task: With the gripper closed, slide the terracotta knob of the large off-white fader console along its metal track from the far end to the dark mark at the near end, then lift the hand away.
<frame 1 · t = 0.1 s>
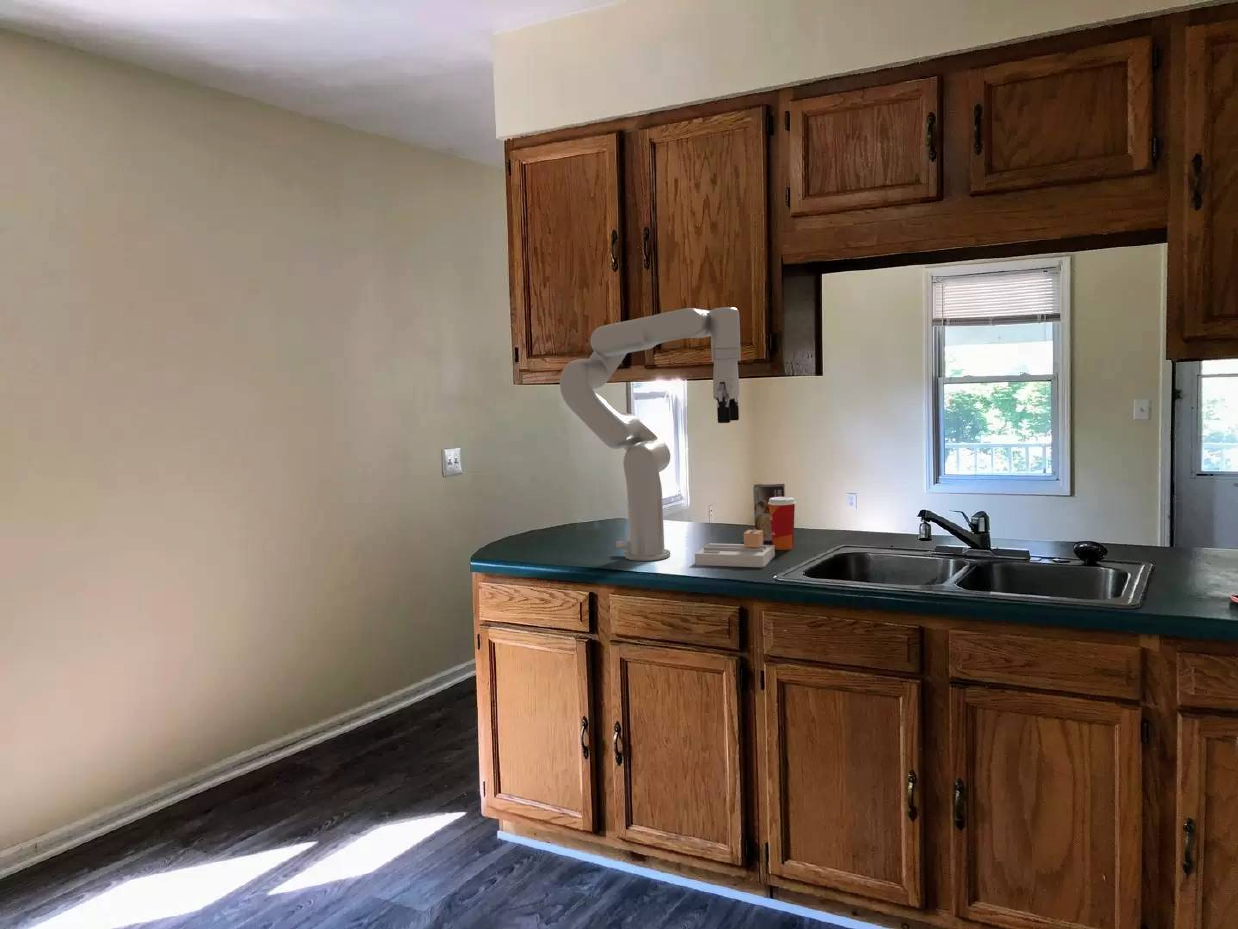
hand: (728, 421, 242), 37 cm above the worktop, tool pointing down, fingers open, 9 cm apart
paper cup: (782, 548, 258), on the worktop
fader knob: (753, 540, 242), point 6 cm above the worktop, slide at 10.0 cm
coffee box: (771, 539, 272), on the worktop
fader console: (735, 560, 245), on the worktop
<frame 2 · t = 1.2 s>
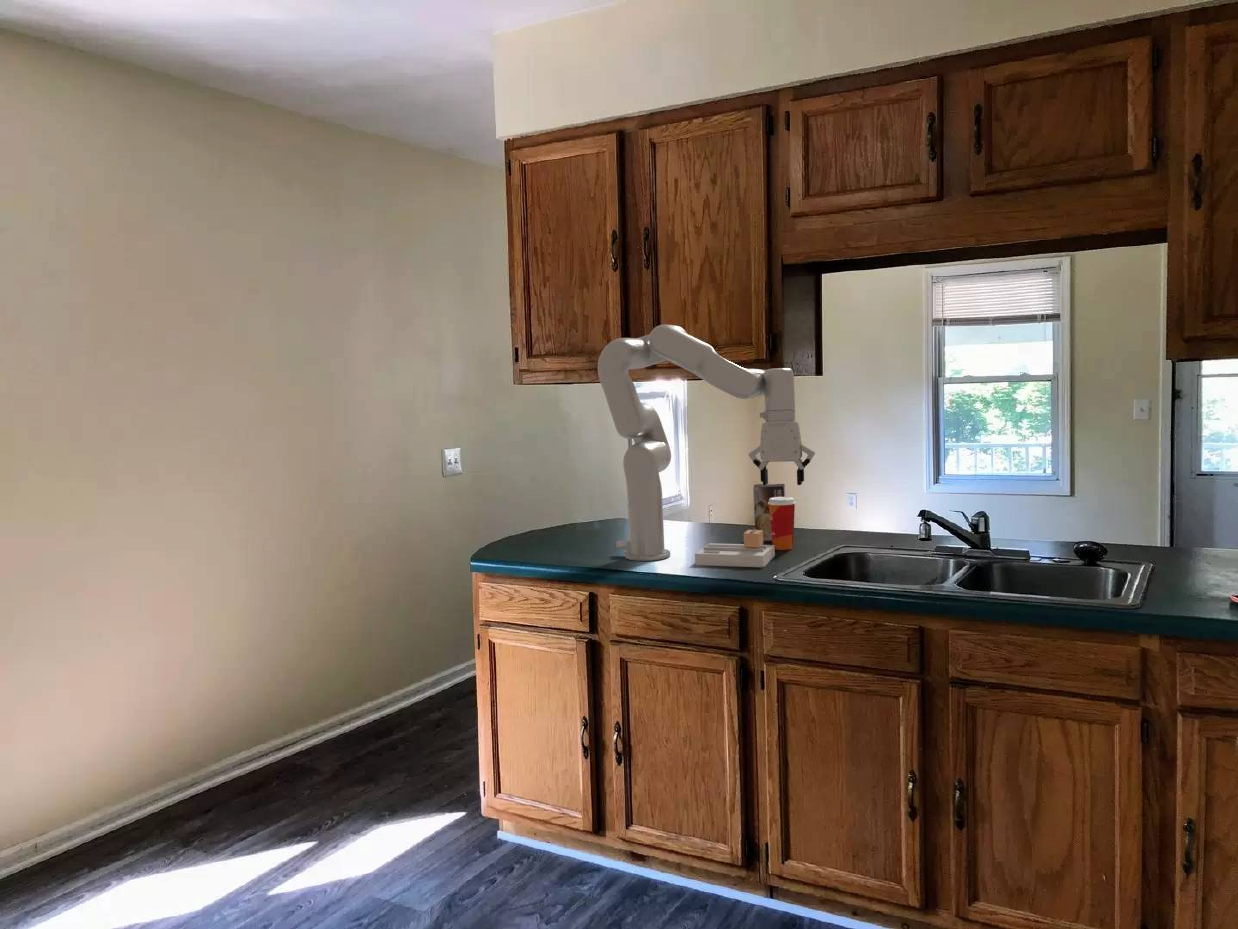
hand: (782, 484, 238), 20 cm above the worktop, tool pointing down, fingers open, 8 cm apart
nothing on the worktop moved.
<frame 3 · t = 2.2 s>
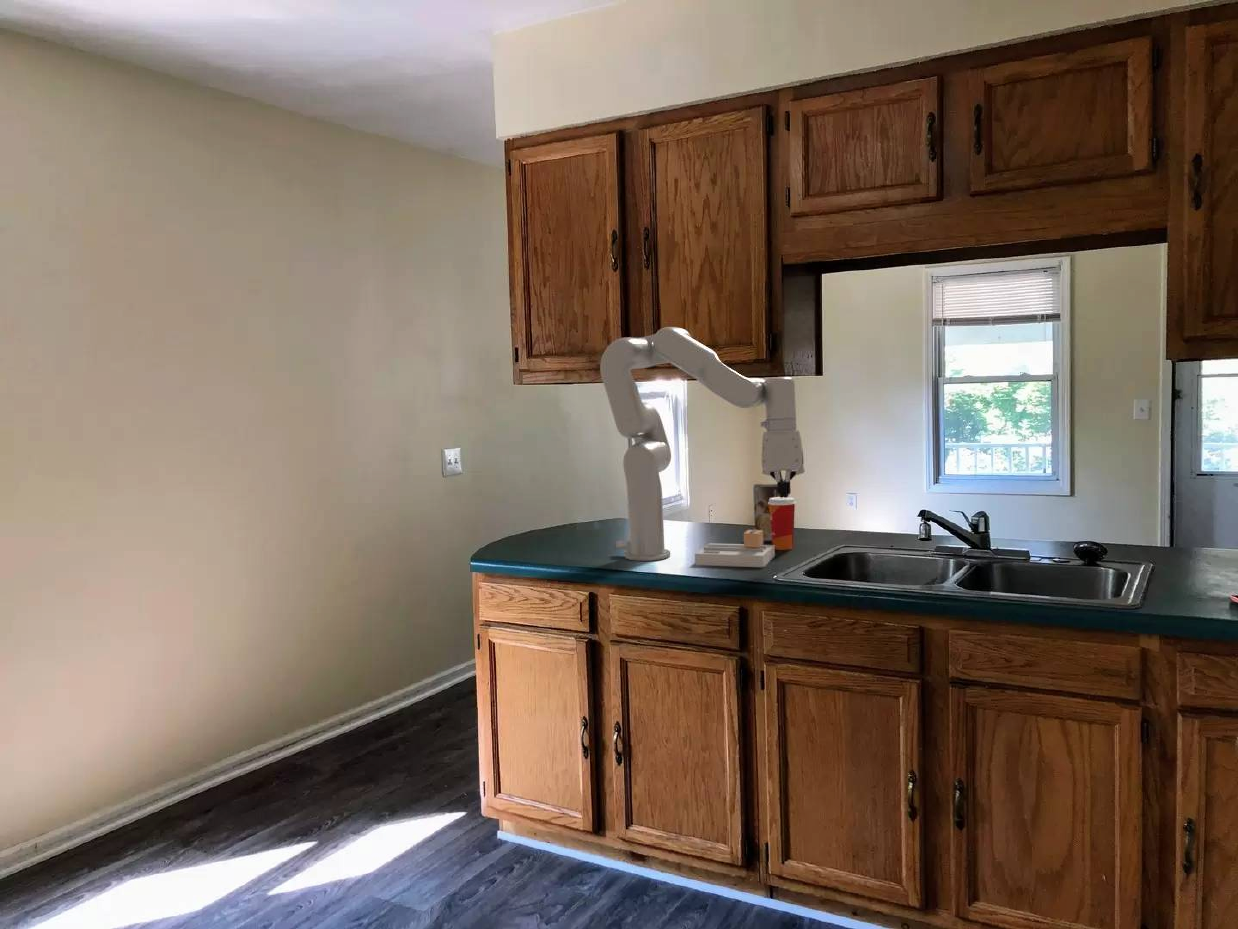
hand: (784, 496, 238), 17 cm above the worktop, tool pointing down, fingers closed
nothing on the worktop moved.
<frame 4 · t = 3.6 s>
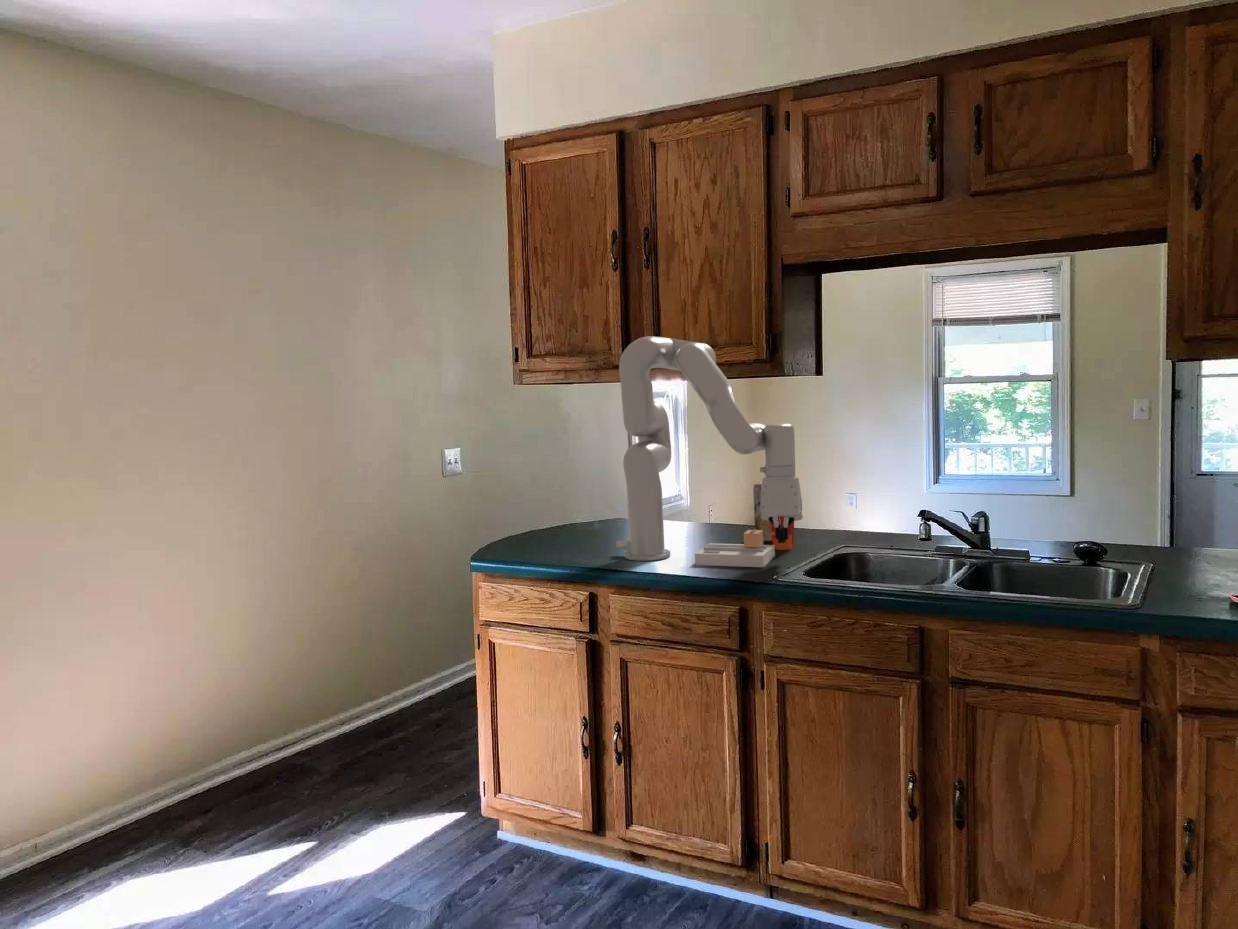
hand: (782, 542, 240), 5 cm above the worktop, tool pointing down, fingers closed
nothing on the worktop moved.
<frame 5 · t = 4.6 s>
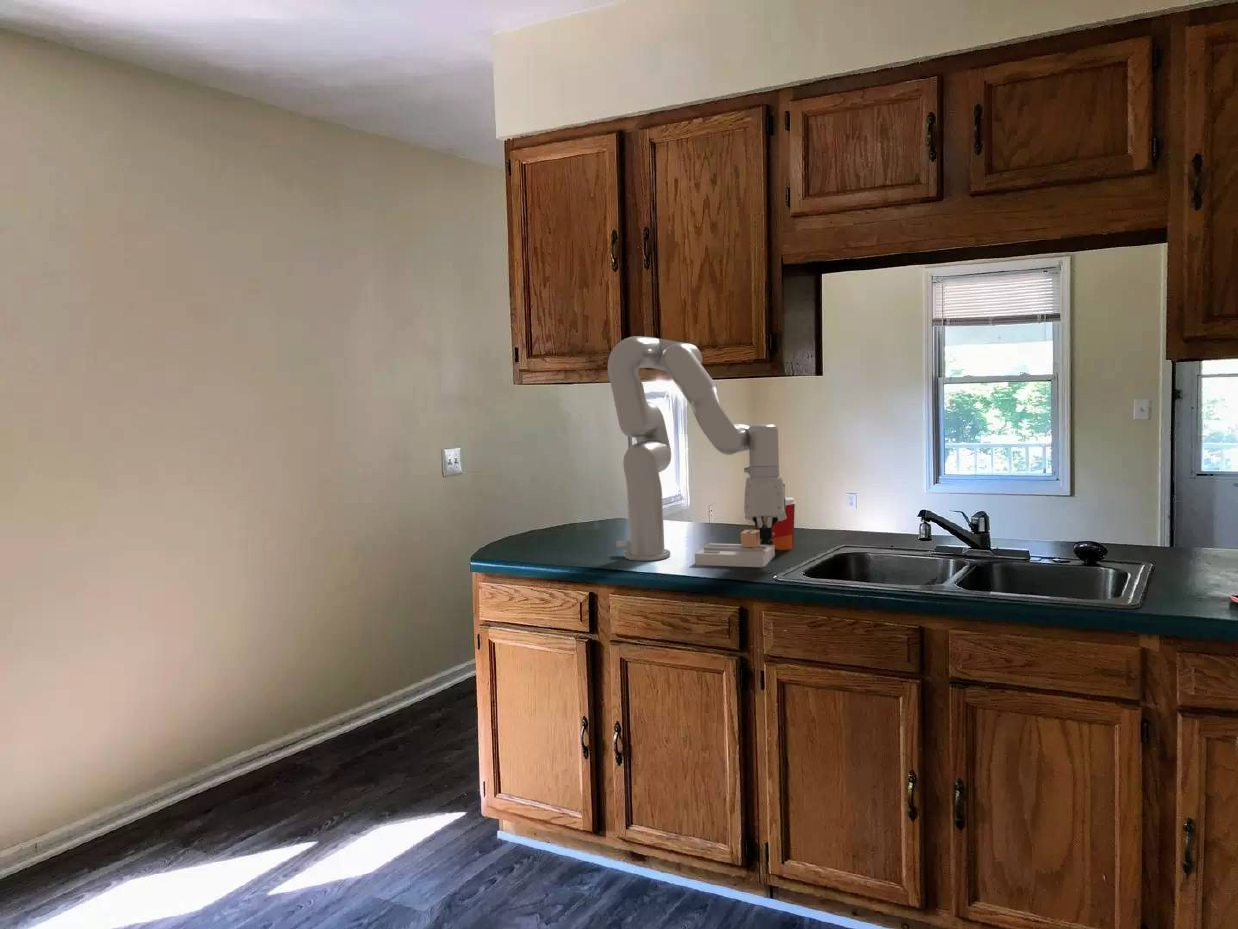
hand: (766, 541, 241), 5 cm above the worktop, tool pointing down, fingers closed
fader knob: (750, 539, 243), point 6 cm above the worktop, slide at 9.2 cm, touching gripper
everything else where it was.
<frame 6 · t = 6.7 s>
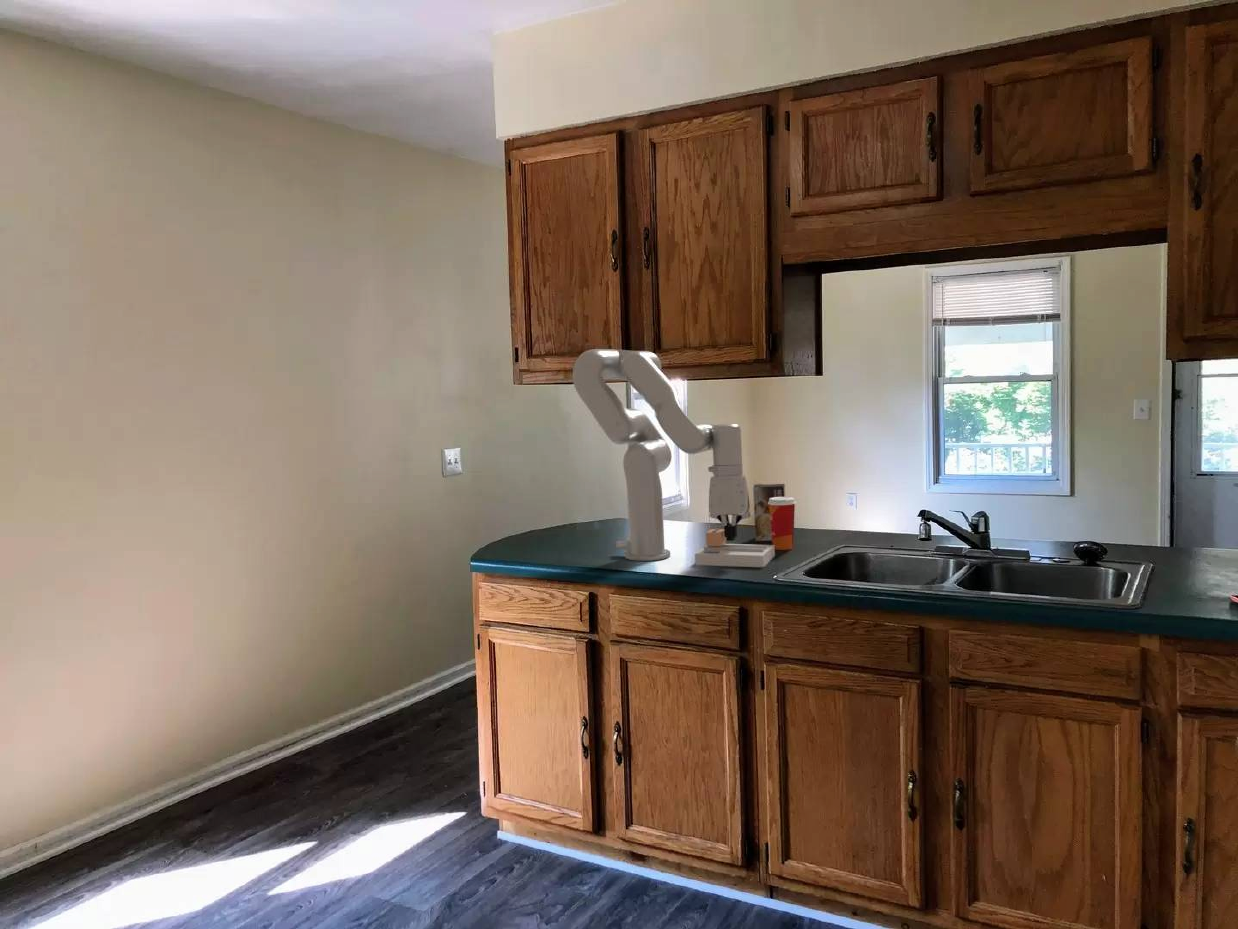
hand: (730, 539, 245), 5 cm above the worktop, tool pointing down, fingers closed
fader knob: (716, 539, 246), point 6 cm above the worktop, slide at -0.1 cm, touching gripper
everything else where it was.
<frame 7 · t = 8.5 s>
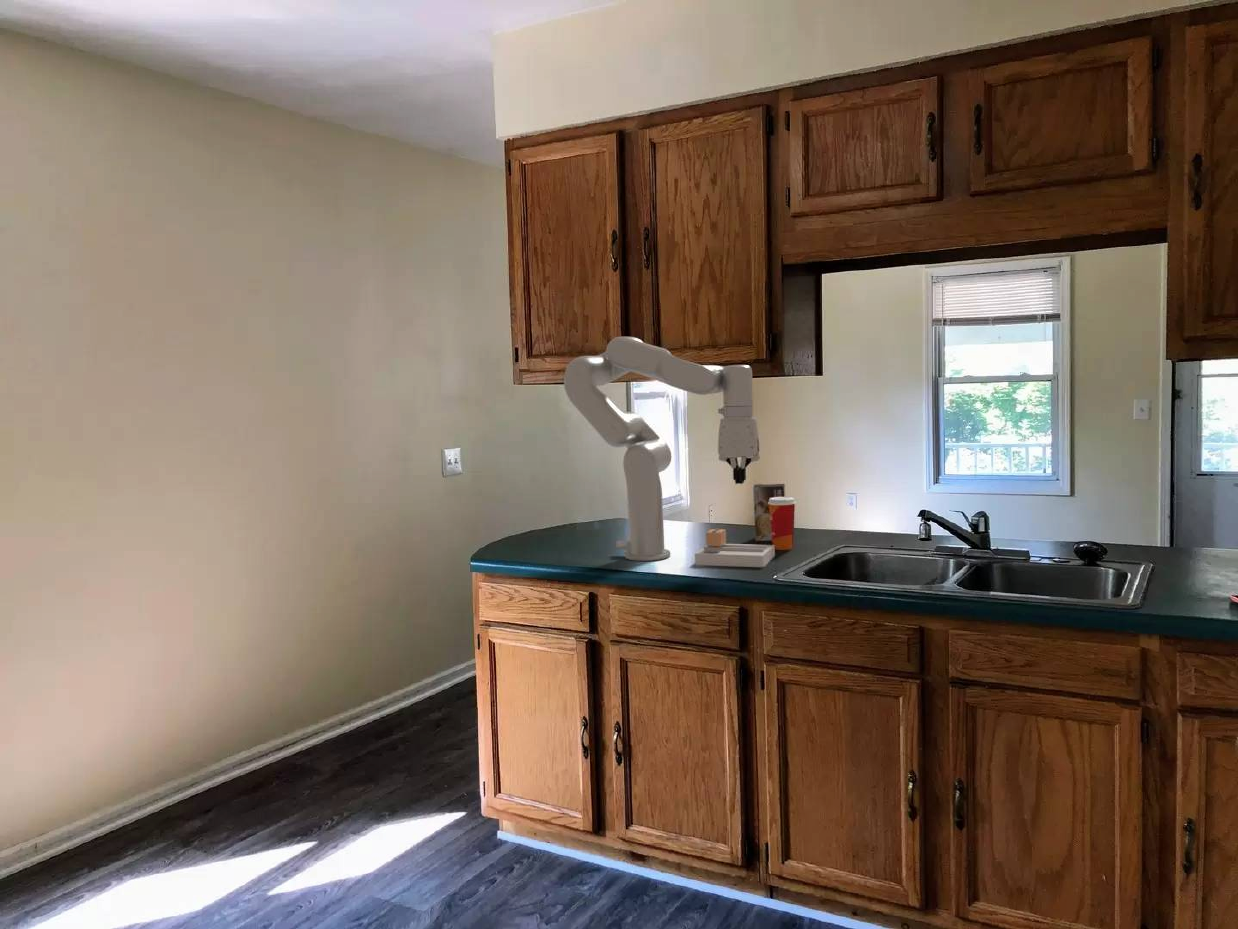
hand: (739, 483, 242), 21 cm above the worktop, tool pointing down, fingers closed
fader knob: (716, 539, 246), point 6 cm above the worktop, slide at 0.0 cm
everything else where it was.
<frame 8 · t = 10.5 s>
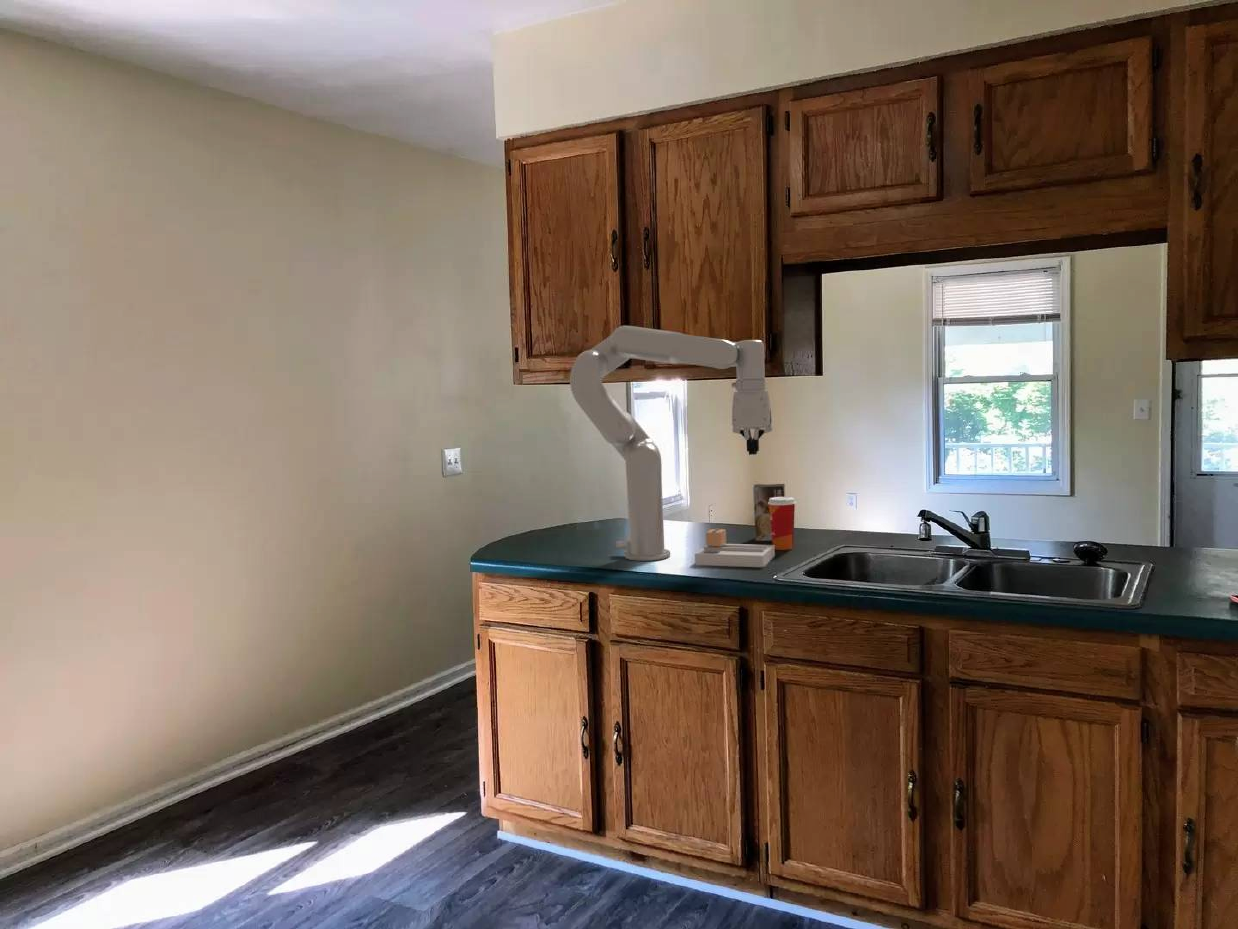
hand: (753, 454, 251), 27 cm above the worktop, tool pointing down, fingers closed
nothing on the worktop moved.
at the end: fader knob slide at 0.0 cm; fader knob 0.0 cm from the target spot, resting on fader console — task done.
